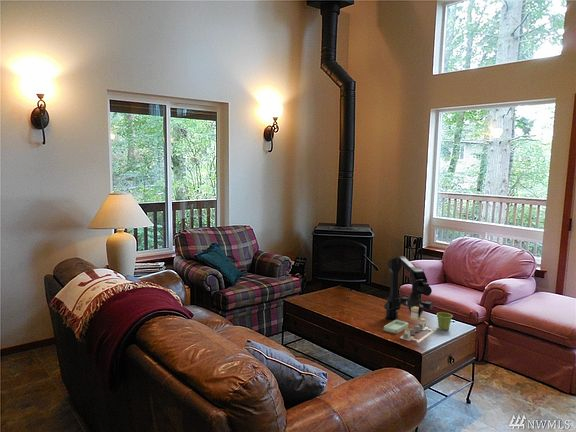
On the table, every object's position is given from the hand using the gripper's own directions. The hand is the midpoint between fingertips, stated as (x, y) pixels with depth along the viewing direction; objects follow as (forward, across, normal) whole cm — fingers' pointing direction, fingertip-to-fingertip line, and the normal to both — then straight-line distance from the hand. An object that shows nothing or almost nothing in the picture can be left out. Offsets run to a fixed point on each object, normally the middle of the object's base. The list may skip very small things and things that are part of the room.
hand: (415, 316), depth 245 cm
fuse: (+1, 0, 0) cm, 1 cm away
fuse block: (+10, +3, 0) cm, 10 cm away
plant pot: (+10, +10, +20) cm, 25 cm away
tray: (+10, -12, -1) cm, 15 cm away
